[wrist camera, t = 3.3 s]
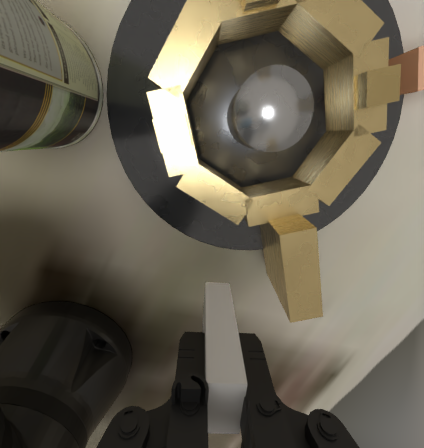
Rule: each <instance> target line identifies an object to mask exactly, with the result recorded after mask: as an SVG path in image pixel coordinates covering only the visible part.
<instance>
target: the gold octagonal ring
mask: <svg viewBox="0 0 424 448" xmlns="http://www.w3.org/2000/svg"><path fill="white" fill-rule="evenodd" d="M383 24H384V22H383V21H382V20H381V19H380V18H379V17H378V16H377V15H376V14H375V13H374V12H373V11H372V10H371V9H370V8H369V7H368V6H367V5H366V4H365V3H364V2H363V1H362V0H187V1H186V3H185V5H184V7H183V9H182V11H181V13H180V15H179V17H178V19H177V21H176V23H175V25H174V27H173V29H172V30H171V32H170V34H169V36H168V38H167V40H166V42H165V44H164V46H163V48H162V50H161V52H160V54H159V56H158V58H157V60H156V62H155V64H154V66H153V68H152V70H151V72H150V74H149V76H148V78H149V79H150V81H151V82H152V83H153V84H154V85H155V86H156V87H157V88H158V89H159V90H154V91H150V92H146V93H147V96H148V100H149V104H150V108H151V111H152V115H153V119H152V121H153V125H154V129H155V132H156V136H157V140H158V143H159V147H160V151H161V153H163V156H164V160H165V164H166V168H167V172H168V175H169V177H172V176H176V175H181V174H183V175H182V176H181V178H180V180H179V182H178V184H177V186H176V187H177V188H179V189H180V190H182V191H184V192H185V193H187V194H188V195H190V196H192V197H193V198H195V199H197V200H198V201H200V202H201V203H203V204H205V205H206V206H208V207H209V208H211V209H213V210H214V211H216V212H217V213H219V214H221V215H222V216H224V217H226V218H227V219H229V220H230V221H232V222H234V223H235V224H237V225H239V223H240V222H241V220H242V219H243V218H244V219H245V221H246V223H247V225H248V227H251V226H256V225H260V231H261V238H262V245H263V251H264V258H265V264H266V271H267V275H268V277H269V279H270V281H271V283H272V285H273V287H274V289H275V291H276V293H277V296H278V298H279V300H280V302H281V304H282V306H283V308H284V310H285V312H286V314H287V316H288V319H289V321H290V323H291V322H296V321H302V320H307V319H312V318H317V317H322V316H323V312H322V297H321V283H320V268H319V253H318V239H317V228H316V227H315V226H314V225H313V224H311V223H310V222H309V221H308V220H306V219H305V218H304V217H303V216H304V215H308V214H313V213H318V212H319V201H321V202H322V203H324V204H326V205H328V206H330V205H331V203H332V202H333V201H334V200H335V199H336V197H337V196H338V195H339V194H340V192H341V191H342V190H343V189H344V188H345V186H346V185H347V184H348V183H349V181H350V180H351V179H352V178H353V177H354V175H355V174H356V173H357V172H358V171H359V169H360V168H361V167H362V166H363V164H364V163H365V162H366V161H367V160H368V158H369V157H370V156H371V155H372V154H373V152H374V151H375V150H376V149H377V147H378V146H379V145H380V144H381V142H380V141H379V140H378V139H377V138H376V137H374V136H373V135H372V134H371V133H374V132H379V131H384V130H386V127H387V103H391V102H396V101H399V100H400V78H401V64H397V65H392V66H388V61H389V37H386V38H382V39H377V40H373V41H372V39H373V38H374V37H375V35H376V34H377V33H378V31H379V30H380V28H381V27H382V26H383ZM275 31H279V32H280V33H281V34H282V35H283V36H284V37H286V38H287V39H288V40H289V41H290V42H291V43H293V44H294V45H295V46H296V47H297V48H298V49H300V50H301V51H302V52H303V53H304V54H305V55H306V56H308V57H309V58H310V59H311V60H312V61H313V62H315V63H316V64H317V65H318V66H319V67H320V68H322V69H323V76H324V97H325V118H326V132H325V133H324V135H323V136H322V137H321V139H320V140H319V141H318V143H317V144H316V145H315V147H314V148H313V149H312V151H311V152H310V153H309V155H308V156H307V157H306V159H305V160H304V161H303V163H302V164H301V165H300V167H299V168H298V169H297V171H296V172H295V173H294V175H293V176H292V177H288V178H283V179H279V180H274V181H269V182H264V183H260V184H255V185H250V186H246V187H240V186H239V185H237V184H236V183H234V182H233V181H231V180H230V179H228V178H227V177H225V176H224V175H222V174H221V173H219V172H218V171H216V170H215V169H213V168H212V167H210V166H209V165H207V164H206V163H204V162H203V161H201V160H200V159H199V157H198V153H197V148H196V144H195V139H194V135H193V130H192V125H191V121H190V116H189V112H188V107H187V103H186V100H187V99H188V97H189V95H190V93H191V91H192V90H193V88H194V86H195V84H196V83H197V81H198V79H199V77H200V75H201V74H202V72H203V70H204V68H205V67H206V65H207V63H208V61H209V60H210V58H211V56H212V54H213V52H214V51H215V49H216V47H217V45H219V44H224V43H228V42H232V41H237V40H241V39H245V38H250V37H254V36H258V35H262V34H267V33H271V32H275ZM318 200H319V201H318Z"/></svg>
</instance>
